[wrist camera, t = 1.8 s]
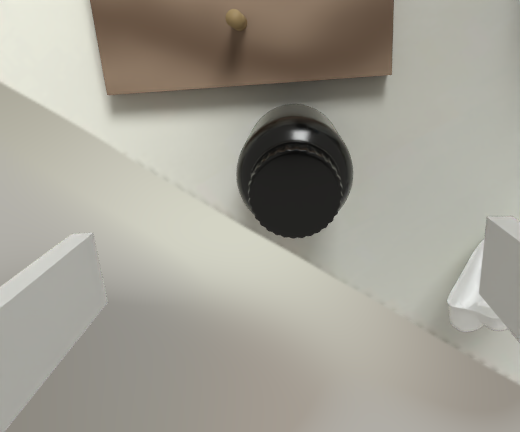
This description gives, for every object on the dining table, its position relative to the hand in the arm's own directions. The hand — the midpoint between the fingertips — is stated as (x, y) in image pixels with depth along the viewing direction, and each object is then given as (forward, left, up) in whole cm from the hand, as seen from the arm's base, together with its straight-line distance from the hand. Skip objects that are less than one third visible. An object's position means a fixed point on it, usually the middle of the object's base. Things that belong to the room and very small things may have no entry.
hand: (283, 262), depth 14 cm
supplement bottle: (0, 0, -20) cm, 20 cm away
